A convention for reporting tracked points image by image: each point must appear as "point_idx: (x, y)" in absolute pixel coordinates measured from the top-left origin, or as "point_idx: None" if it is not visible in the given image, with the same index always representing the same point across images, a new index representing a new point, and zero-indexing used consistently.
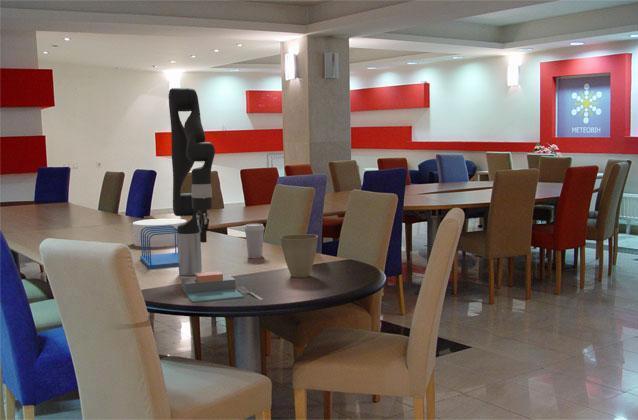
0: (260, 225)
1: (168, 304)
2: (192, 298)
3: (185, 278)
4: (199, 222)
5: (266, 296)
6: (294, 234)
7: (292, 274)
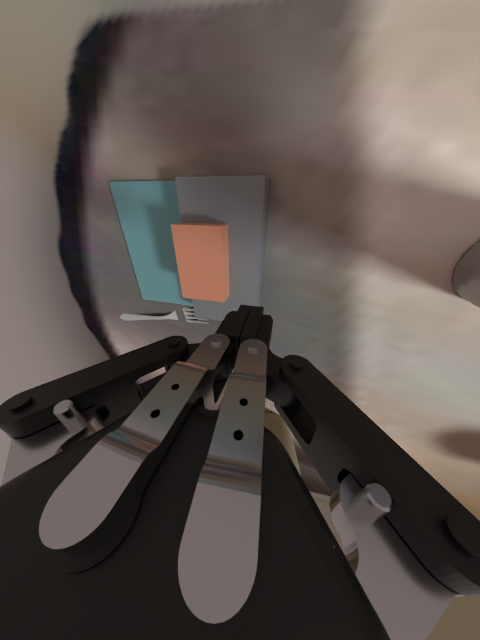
0: None
1: (92, 99)
2: (133, 188)
3: (258, 192)
4: (150, 395)
5: (147, 330)
6: None
7: (265, 415)
